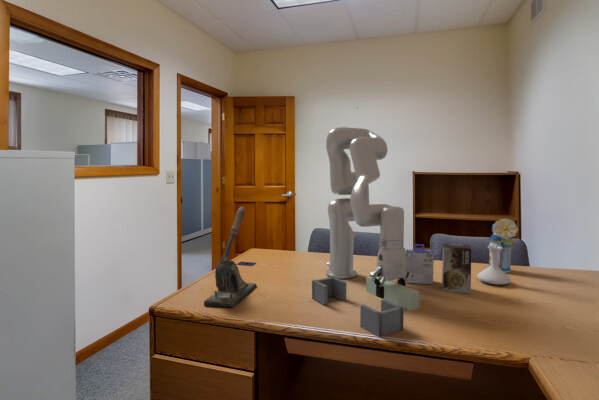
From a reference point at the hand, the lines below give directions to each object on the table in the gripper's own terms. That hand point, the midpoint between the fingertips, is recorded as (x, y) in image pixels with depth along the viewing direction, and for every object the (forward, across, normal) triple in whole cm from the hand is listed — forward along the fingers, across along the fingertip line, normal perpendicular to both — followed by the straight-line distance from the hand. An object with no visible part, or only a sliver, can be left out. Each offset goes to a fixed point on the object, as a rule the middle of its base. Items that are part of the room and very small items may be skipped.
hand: (390, 294), depth 116 cm
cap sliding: (+2, -18, +10) cm, 21 cm away
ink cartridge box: (+2, +23, +8) cm, 24 cm away
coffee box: (+2, +27, -5) cm, 28 cm away
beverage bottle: (+2, +65, +1) cm, 65 cm away
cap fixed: (+2, -18, -15) cm, 23 cm away
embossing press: (+2, -44, +31) cm, 54 cm away
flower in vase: (+2, +47, -8) cm, 48 cm away
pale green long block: (+2, 0, 0) cm, 2 cm away
